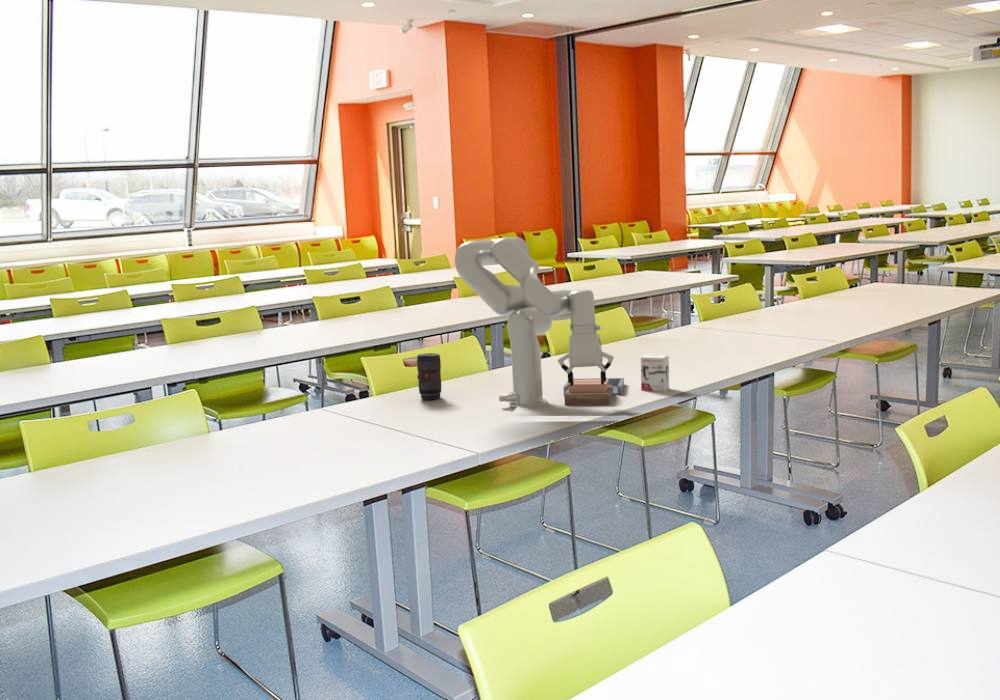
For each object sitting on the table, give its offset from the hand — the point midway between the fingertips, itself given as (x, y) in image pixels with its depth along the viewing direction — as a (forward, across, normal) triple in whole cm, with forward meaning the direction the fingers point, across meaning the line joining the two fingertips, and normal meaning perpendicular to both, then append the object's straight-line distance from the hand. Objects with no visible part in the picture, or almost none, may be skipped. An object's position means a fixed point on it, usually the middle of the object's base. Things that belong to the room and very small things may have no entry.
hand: (587, 384), depth 279 cm
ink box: (+7, -20, -26) cm, 34 cm away
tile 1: (+3, +1, -8) cm, 9 cm away
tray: (+7, +1, -27) cm, 28 cm away
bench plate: (+7, +1, -11) cm, 13 cm away
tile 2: (+3, +1, -13) cm, 14 cm away
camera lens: (+5, +57, -18) cm, 60 cm away
